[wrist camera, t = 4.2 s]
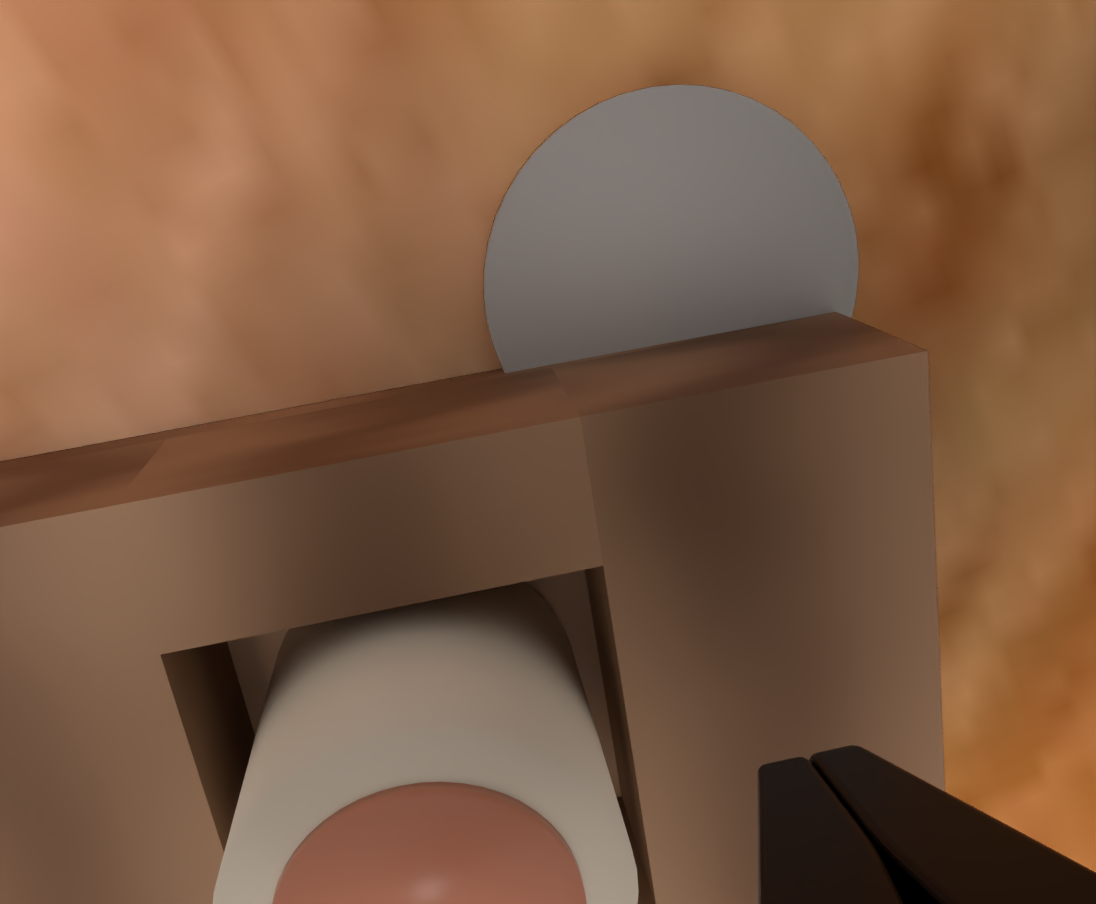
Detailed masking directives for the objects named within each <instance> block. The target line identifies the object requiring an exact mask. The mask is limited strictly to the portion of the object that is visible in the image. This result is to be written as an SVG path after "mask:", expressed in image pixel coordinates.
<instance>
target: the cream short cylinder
mask: <svg viewBox="0 0 1096 904" xmlns="http://www.w3.org/2000/svg"><path fill="white" fill-rule="evenodd" d="M638 892H639V890H638V878H637V868H636V864H635V860H634V856H633V851H632V847H631V844H630V841H629V837H628V834H627V831H626V827H625V824H624V821H623V817H622V814H621V811H620V807H619V804H618V801H617V797H616V794H615V791H614V787H613V784H612V781H611V777H610V774H609V771H608V767H607V764H606V760H605V757H604V754H603V750H602V747H601V744H600V740H599V737H598V734H597V730H596V727H595V724H594V720H593V717H592V714H591V710H590V707H589V704H588V700H587V697H586V694H585V690H584V687H583V684H582V680H581V677H580V674H579V670H578V667H577V664H576V660H575V657H574V654H573V650H572V647H571V644H570V641H569V639H568V637H567V634H566V632H565V629H564V627H563V626H562V624H561V622H560V621H559V619H558V617H557V616H556V614H555V612H554V611H553V610H552V609H551V608H550V606H549V605H548V604H547V603H546V601H545V600H544V599H543V598H542V597H541V596H540V595H539V594H538V593H537V592H535V591H534V590H533V589H532V588H531V587H530V586H529V585H527V584H526V583H525V582H520V583H515V584H510V585H505V586H500V587H495V588H490V589H485V590H480V591H475V592H470V593H465V594H460V595H455V596H450V597H445V598H440V599H435V600H430V601H425V602H420V603H415V604H410V605H405V606H400V607H395V608H391V609H386V610H381V611H376V612H371V613H366V614H361V615H356V616H351V617H346V618H341V619H336V620H331V621H326V622H321V623H316V624H311V625H306V626H301V627H296V628H291V629H289V630H288V631H287V633H286V635H285V637H284V639H283V642H282V644H281V646H280V649H279V651H278V654H277V658H276V661H275V665H274V669H273V673H272V676H271V680H270V684H269V688H268V691H267V695H266V699H265V702H264V706H263V710H262V714H261V717H260V721H259V725H258V728H257V732H256V736H255V740H254V743H253V747H252V751H251V754H250V758H249V762H248V766H247V769H246V773H245V777H244V780H243V784H242V788H241V792H240V795H239V799H238V803H237V806H236V810H235V814H234V818H233V821H232V825H231V829H230V833H229V836H228V840H227V844H226V847H225V851H224V855H223V859H222V862H221V866H220V870H219V874H218V878H217V881H216V885H215V889H214V894H213V904H638Z"/></svg>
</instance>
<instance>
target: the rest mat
mask: <svg viewBox="0 0 1096 904" xmlns="http://www.w3.org/2000/svg"><path fill="white" fill-rule="evenodd" d="M857 285H858V247H857V239H856V231H855V226H854V223H853V219H852V215H851V211H850V207H849V204H848V202H847V199H846V197H845V194H844V192H843V189H842V187H841V185H840V182H839V181H838V179H837V177H836V175H835V174H834V172H833V170H832V168H831V167H830V165H829V163H828V162H827V160H826V159H825V158H824V156H823V155H822V154H821V153H820V151H819V150H818V149H817V147H816V146H815V145H814V144H813V142H812V141H811V140H810V139H809V138H808V137H807V136H806V135H804V134H803V133H802V132H801V131H800V130H799V129H798V128H797V127H796V126H795V125H794V124H793V123H791V122H790V121H788V120H787V119H786V118H784V117H783V116H781V115H780V114H779V113H777V112H776V111H775V110H773V109H771V108H769V107H767V106H765V105H763V104H761V103H759V102H757V101H755V100H753V99H751V98H748V97H745V96H743V95H740V94H737V93H734V92H731V91H728V90H723V89H718V88H712V87H707V86H698V85H667V86H657V87H649V88H644V89H640V90H636V91H632V92H628V93H624V94H620V95H618V96H615V97H613V98H610V99H608V100H605V101H602V102H600V103H597V104H596V105H594V106H592V107H590V108H588V109H587V110H585V111H583V112H581V113H579V114H578V115H576V116H574V117H573V118H572V119H570V120H569V121H568V122H566V123H565V124H564V125H562V126H561V127H560V128H558V129H557V130H556V131H554V132H553V133H552V134H551V135H550V136H549V137H548V138H547V139H546V140H545V141H544V142H543V143H542V144H541V145H540V146H539V147H538V148H537V149H536V150H535V151H534V152H533V153H532V154H531V156H530V157H529V158H528V160H527V161H526V162H525V163H524V165H523V166H522V167H521V168H520V170H519V171H518V173H517V174H516V176H515V178H514V179H513V181H512V183H511V184H510V186H509V188H508V190H507V191H506V193H505V195H504V197H503V199H502V202H501V204H500V206H499V209H498V211H497V213H496V216H495V218H494V222H493V225H492V229H491V232H490V236H489V239H488V243H487V250H486V256H485V263H484V283H483V295H484V304H485V312H486V319H487V323H488V327H489V331H490V335H491V339H492V343H493V346H494V348H495V351H496V353H497V356H498V358H499V361H500V363H501V366H502V368H503V370H504V372H505V373H509V372H515V371H520V370H525V369H531V368H536V367H542V366H547V365H552V364H558V363H563V362H568V361H574V360H579V359H585V358H590V357H595V356H601V355H606V354H611V353H617V352H622V351H628V350H633V349H638V348H644V347H649V346H654V345H660V344H665V343H671V342H676V341H681V340H687V339H692V338H697V337H703V336H708V335H714V334H719V333H724V332H730V331H735V330H740V329H746V328H751V327H756V326H762V325H767V324H773V323H778V322H783V321H789V320H794V319H799V318H805V317H810V316H816V315H821V314H826V313H832V312H838V313H840V314H843V315H845V316H847V317H850V318H852V314H853V310H854V306H855V301H856V293H857Z"/></svg>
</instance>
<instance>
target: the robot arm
mask: <svg viewBox="0 0 1096 904" xmlns="http://www.w3.org/2000/svg"><path fill="white" fill-rule="evenodd" d="M758 904H1096V872H1094V871H1092V870H1090V869H1088V868H1086V867H1084V866H1083V865H1081V864H1079V863H1077V862H1075V861H1073V860H1071V859H1070V858H1068V857H1066V856H1064V855H1062V854H1060V853H1058V852H1057V851H1055V850H1053V849H1051V848H1049V847H1047V846H1045V845H1043V844H1042V843H1040V842H1038V841H1036V840H1034V839H1032V838H1030V837H1029V836H1027V835H1025V834H1023V833H1021V832H1019V831H1017V830H1016V829H1014V828H1012V827H1010V826H1008V825H1006V824H1004V823H1003V822H1001V821H999V820H997V819H995V818H993V817H991V816H990V815H988V814H986V813H984V812H982V811H980V810H978V809H976V808H975V807H973V806H971V805H969V804H967V803H965V802H963V801H962V800H960V799H958V798H956V797H954V796H952V795H950V794H949V793H947V792H945V791H943V790H941V789H939V788H937V787H936V786H934V785H932V784H930V783H928V782H926V781H924V780H923V779H921V778H919V777H917V776H915V775H913V774H911V773H909V772H908V771H906V770H904V769H902V768H900V767H898V766H896V765H895V764H893V763H891V762H889V761H887V760H885V759H883V758H882V757H880V756H878V755H876V754H874V753H872V752H870V751H869V750H867V749H865V748H862V747H860V746H856V745H849V746H845V747H840V748H836V749H831V750H827V751H822V752H817V753H814V754H813V755H812V756H811V757H810V759H809V760H808V759H806V758H804V757H795V758H790V759H786V760H781V761H776V762H772V763H767V764H764V765H762V766H761V767H760V768H759V770H758Z"/></svg>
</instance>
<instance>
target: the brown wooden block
mask: <svg viewBox="0 0 1096 904" xmlns="http://www.w3.org/2000/svg"><path fill="white" fill-rule="evenodd" d="M520 582H525V583H526V584H527V585H529V586H530V587H531V588H532V589H533V590H534V591H535V592H537V593H538V594H539V595H540V596H541V597H542V598H543V599H544V600H545V601H546V603H547V604H548V605H549V606H550V608H551V609H552V610H553V611H554V612H555V614H556V616H557V617H558V619H559V621H560V622H561V624H562V626H563V627H564V629H565V632H566V634H567V637H568V639H569V641H570V644H571V647H572V650H573V654H574V657H575V660H576V664H577V667H578V670H579V674H580V677H581V680H582V684H583V687H584V690H585V694H586V697H587V700H588V704H589V707H590V710H591V714H592V717H593V720H594V724H595V727H596V730H597V734H598V737H599V740H600V744H601V747H602V750H603V754H604V757H605V760H606V764H607V767H608V771H609V774H610V777H611V781H612V784H613V787H614V791H615V794H616V797H617V801H618V804H619V807H620V811H621V814H622V817H623V821H624V824H625V827H626V831H627V834H628V837H629V841H630V844H631V847H632V851H633V856H634V860H635V864H636V868H637V878H638V890H639V892H638V904H758V770H759V768H760V767H761V766H762V765H764V764H767V763H772V762H776V761H781V760H786V759H790V758H795V757H804V758H806V759H808V760H809V759H810V757H811V756H812V755H813V754H814V753H817V752H822V751H827V750H831V749H836V748H840V747H845V746H849V745H856V746H860V747H862V748H865V749H867V750H869V751H870V752H872V753H874V754H876V755H878V756H880V757H882V758H883V759H885V760H887V761H889V762H891V763H893V764H895V765H896V766H898V767H900V768H902V769H904V770H906V771H908V772H909V773H911V774H913V775H915V776H917V777H919V778H921V779H923V780H924V781H926V782H928V783H930V784H932V785H934V786H936V787H937V788H939V789H941V790H943V791H945V778H944V752H943V727H942V701H941V676H940V650H939V624H938V599H937V573H936V548H935V522H934V497H933V471H932V446H931V420H930V395H929V369H928V351H927V350H925V349H922V348H920V347H918V346H915V345H913V344H911V343H908V342H906V341H904V340H901V339H899V338H897V337H894V336H892V335H890V334H887V333H885V332H883V331H880V330H878V329H875V328H873V327H871V326H868V325H866V324H864V323H861V322H859V321H857V320H854V319H852V318H850V317H847V316H845V315H843V314H840V313H838V312H832V313H826V314H821V315H816V316H810V317H805V318H799V319H794V320H789V321H783V322H778V323H773V324H767V325H762V326H756V327H751V328H746V329H740V330H735V331H730V332H724V333H719V334H714V335H708V336H703V337H697V338H692V339H687V340H681V341H676V342H671V343H665V344H660V345H654V346H649V347H644V348H638V349H633V350H628V351H622V352H617V353H611V354H606V355H601V356H595V357H590V358H585V359H579V360H574V361H568V362H563V363H558V364H552V365H547V366H542V367H536V368H531V369H525V370H520V371H515V372H509V373H505V372H504V370H503V369H498V370H492V371H487V372H482V373H476V374H471V375H466V376H460V377H455V378H449V379H444V380H439V381H433V382H428V383H422V384H417V385H412V386H406V387H401V388H396V389H390V390H385V391H379V392H374V393H369V394H363V395H358V396H352V397H347V398H342V399H336V400H331V401H326V402H320V403H315V404H309V405H304V406H299V407H293V408H288V409H283V410H277V411H272V412H266V413H261V414H256V415H250V416H245V417H239V418H234V419H229V420H223V421H218V422H213V423H207V424H202V425H196V426H191V427H186V428H180V429H175V430H169V431H164V432H159V433H153V434H148V435H143V436H137V437H132V438H126V439H121V440H116V441H110V442H105V443H99V444H94V445H89V446H83V447H78V448H73V449H67V450H62V451H56V452H51V453H46V454H40V455H35V456H29V457H24V458H19V459H13V460H8V461H3V462H0V904H213V894H214V889H215V885H216V881H217V878H218V874H219V870H220V866H221V862H222V859H223V855H224V851H225V847H226V844H227V840H228V836H229V833H230V829H231V825H232V821H233V818H234V814H235V810H236V806H237V803H238V799H239V795H240V792H241V788H242V784H243V780H244V777H245V773H246V769H247V766H248V762H249V758H250V754H251V751H252V747H253V743H254V740H255V736H256V732H257V728H258V725H259V721H260V717H261V714H262V710H263V706H264V702H265V699H266V695H267V691H268V688H269V684H270V680H271V676H272V673H273V669H274V665H275V661H276V658H277V654H278V651H279V649H280V646H281V644H282V642H283V639H284V637H285V635H286V633H287V631H288V630H289V629H291V628H296V627H301V626H306V625H311V624H316V623H321V622H326V621H331V620H336V619H341V618H346V617H351V616H356V615H361V614H366V613H371V612H376V611H381V610H386V609H391V608H395V607H400V606H405V605H410V604H415V603H420V602H425V601H430V600H435V599H440V598H445V597H450V596H455V595H460V594H465V593H470V592H475V591H480V590H485V589H490V588H495V587H500V586H505V585H510V584H515V583H520Z"/></svg>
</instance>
